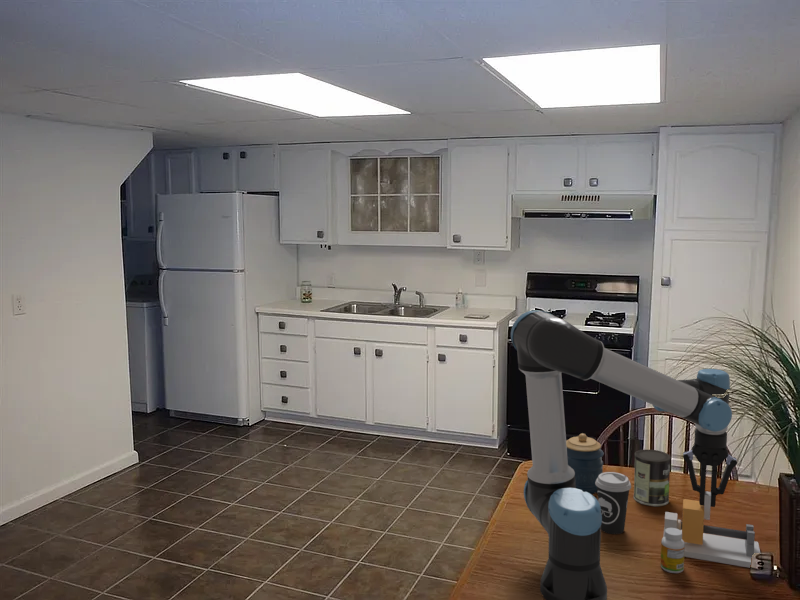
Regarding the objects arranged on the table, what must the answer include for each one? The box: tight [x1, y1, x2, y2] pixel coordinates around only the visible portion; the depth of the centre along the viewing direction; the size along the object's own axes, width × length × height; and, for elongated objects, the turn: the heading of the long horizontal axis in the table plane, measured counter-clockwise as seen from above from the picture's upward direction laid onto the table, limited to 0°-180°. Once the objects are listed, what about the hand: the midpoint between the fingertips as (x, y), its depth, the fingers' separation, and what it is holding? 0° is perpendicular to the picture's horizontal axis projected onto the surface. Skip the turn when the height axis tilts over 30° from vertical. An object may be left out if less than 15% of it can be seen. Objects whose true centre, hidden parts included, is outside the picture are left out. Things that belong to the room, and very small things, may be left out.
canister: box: [566, 432, 605, 495], centre depth 219 cm, size 13×13×18 cm
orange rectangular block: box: [681, 498, 705, 545], centre depth 180 cm, size 6×5×9 cm
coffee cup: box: [595, 471, 632, 535], centre depth 190 cm, size 10×10×15 cm
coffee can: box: [633, 449, 672, 507], centre depth 209 cm, size 10×10×14 cm
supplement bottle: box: [660, 528, 685, 574], centre depth 170 cm, size 5×5×10 cm
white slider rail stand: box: [662, 511, 761, 569], centre depth 178 cm, size 12×23×8 cm, turn 67°
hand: (706, 517), depth 178 cm, fingers closed
